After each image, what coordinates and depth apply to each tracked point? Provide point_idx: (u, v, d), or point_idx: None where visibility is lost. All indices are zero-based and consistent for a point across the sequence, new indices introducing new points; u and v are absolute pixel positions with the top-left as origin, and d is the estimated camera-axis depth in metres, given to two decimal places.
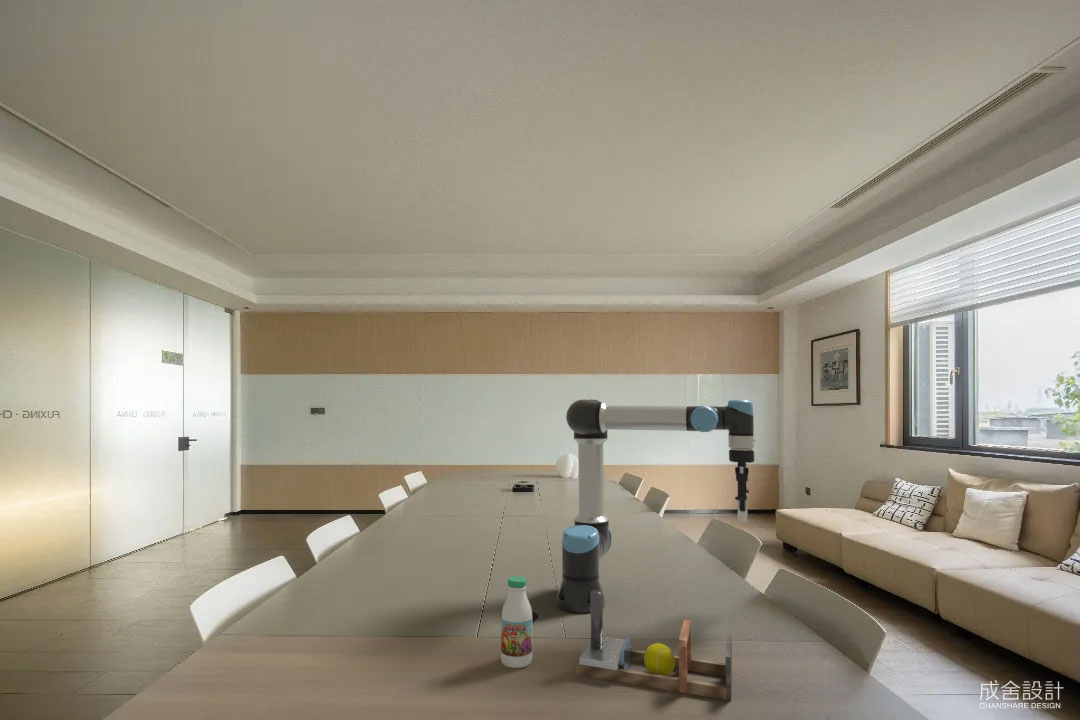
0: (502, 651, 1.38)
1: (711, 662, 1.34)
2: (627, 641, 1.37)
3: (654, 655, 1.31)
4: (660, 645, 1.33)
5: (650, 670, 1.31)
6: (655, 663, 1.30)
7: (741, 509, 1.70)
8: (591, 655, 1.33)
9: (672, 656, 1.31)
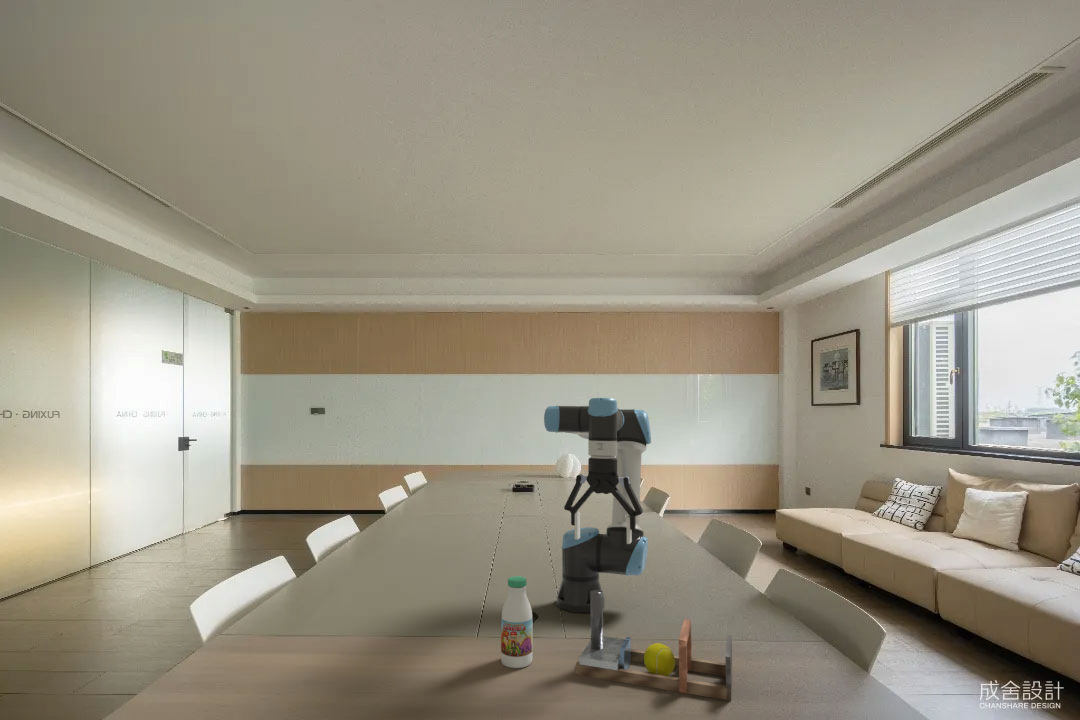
0: (502, 651, 1.38)
1: (711, 662, 1.34)
2: (627, 641, 1.37)
3: (653, 655, 1.31)
4: (660, 645, 1.33)
5: (650, 670, 1.31)
6: (655, 663, 1.30)
7: None
8: (591, 655, 1.33)
9: (672, 656, 1.31)
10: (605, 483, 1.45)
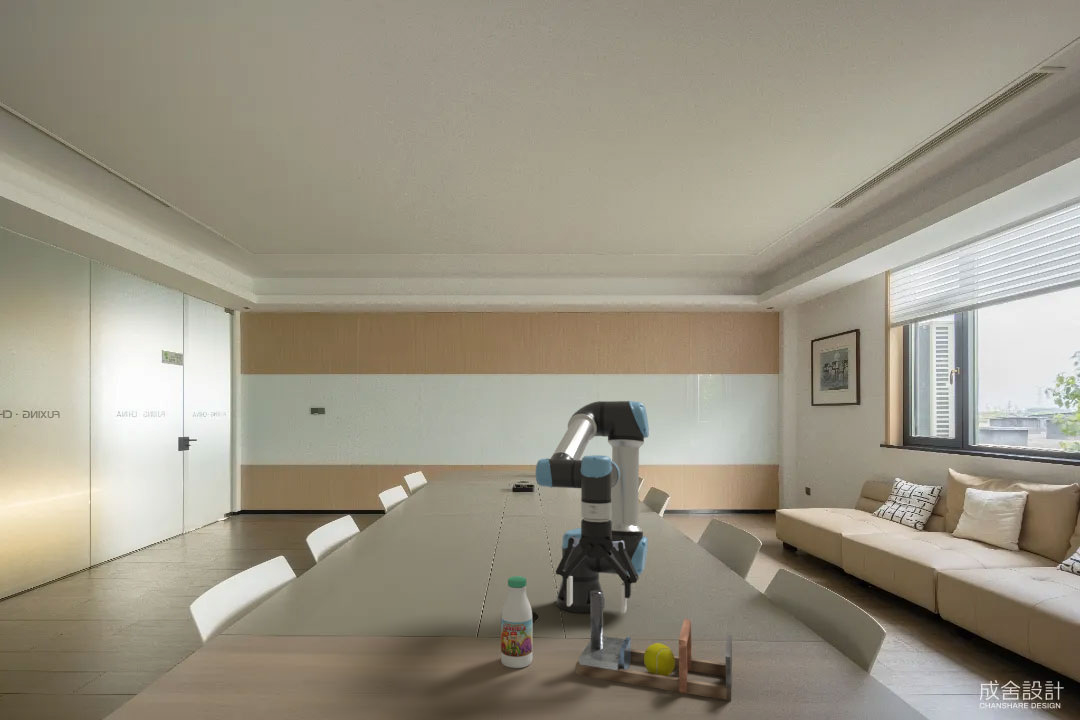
0: (502, 651, 1.38)
1: (711, 662, 1.34)
2: (627, 641, 1.37)
3: (654, 655, 1.31)
4: (660, 645, 1.33)
5: (650, 670, 1.31)
6: (655, 663, 1.30)
7: None
8: (591, 655, 1.33)
9: (672, 656, 1.31)
10: (599, 548, 1.38)
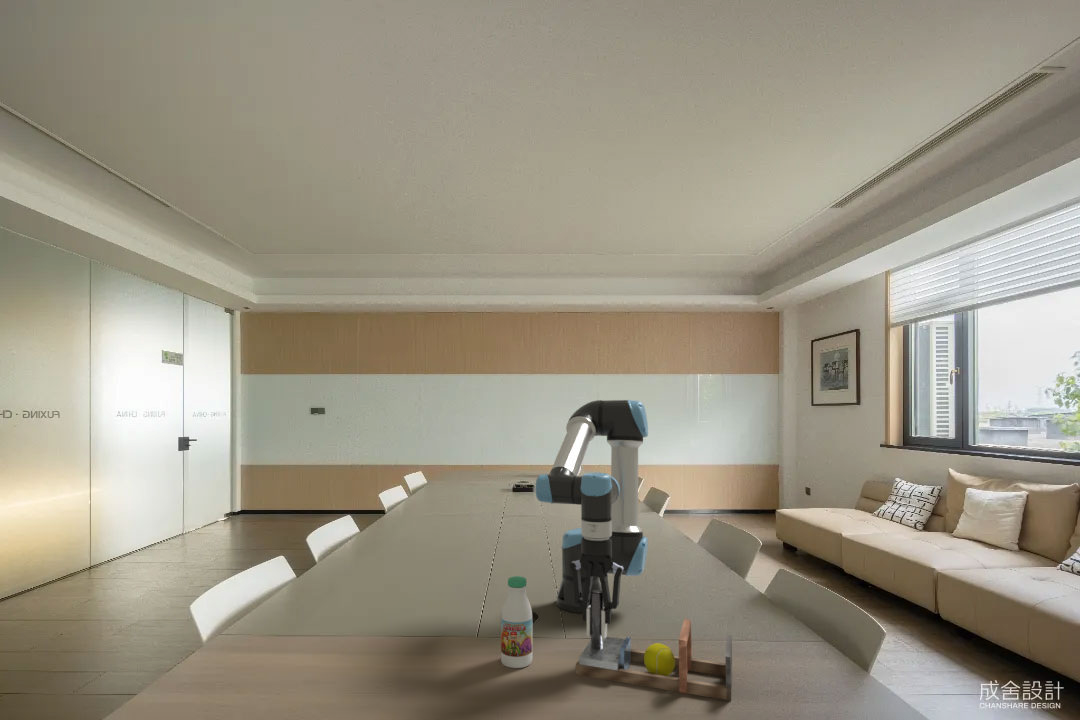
0: (502, 651, 1.38)
1: (711, 662, 1.34)
2: (627, 641, 1.37)
3: (654, 655, 1.31)
4: (660, 645, 1.33)
5: (650, 670, 1.31)
6: (655, 663, 1.30)
7: None
8: (591, 655, 1.33)
9: (672, 656, 1.31)
10: (599, 566, 1.37)
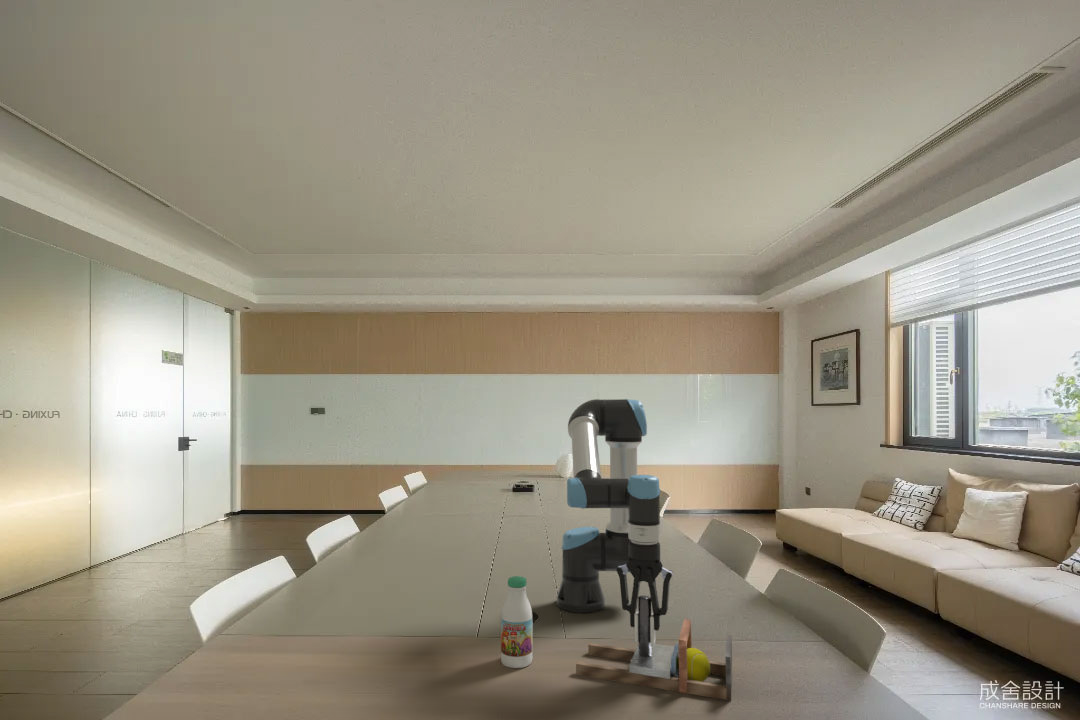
0: (502, 651, 1.38)
1: (711, 662, 1.34)
2: (676, 648, 1.33)
3: (688, 660, 1.28)
4: (694, 650, 1.30)
5: None
6: (690, 668, 1.27)
7: None
8: (641, 663, 1.29)
9: (707, 661, 1.29)
10: (647, 571, 1.33)
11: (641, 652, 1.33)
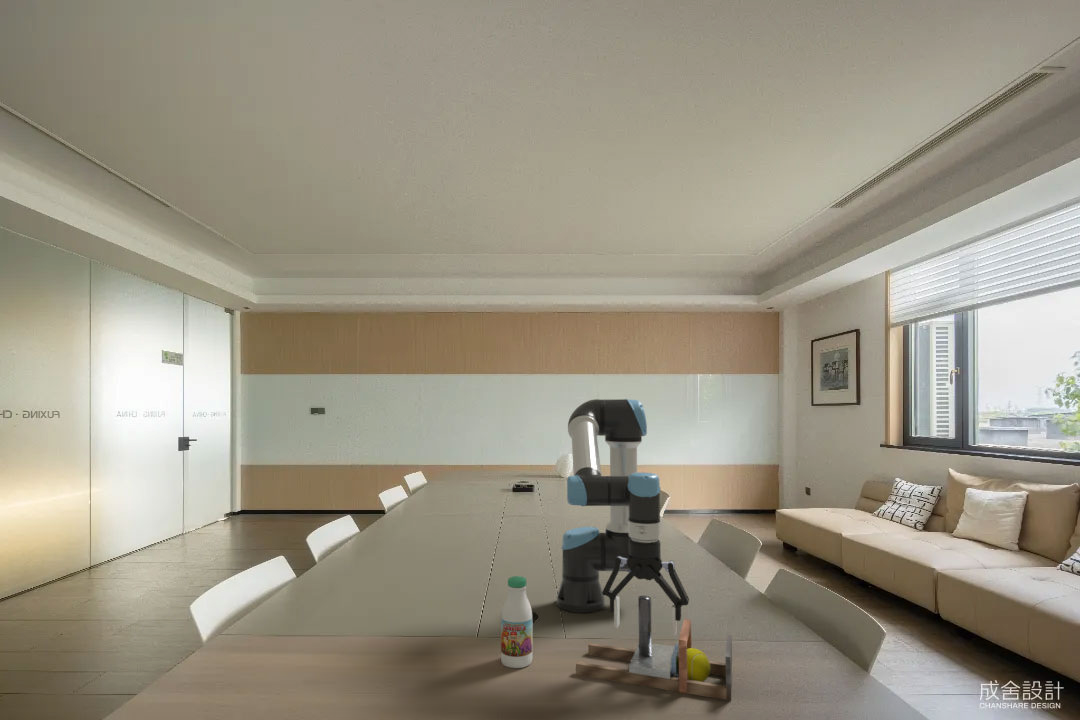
0: (502, 651, 1.38)
1: (711, 662, 1.34)
2: (676, 648, 1.33)
3: (689, 661, 1.28)
4: (695, 650, 1.30)
5: None
6: (690, 668, 1.27)
7: None
8: (641, 663, 1.29)
9: (707, 661, 1.29)
10: (648, 569, 1.33)
11: (641, 652, 1.33)
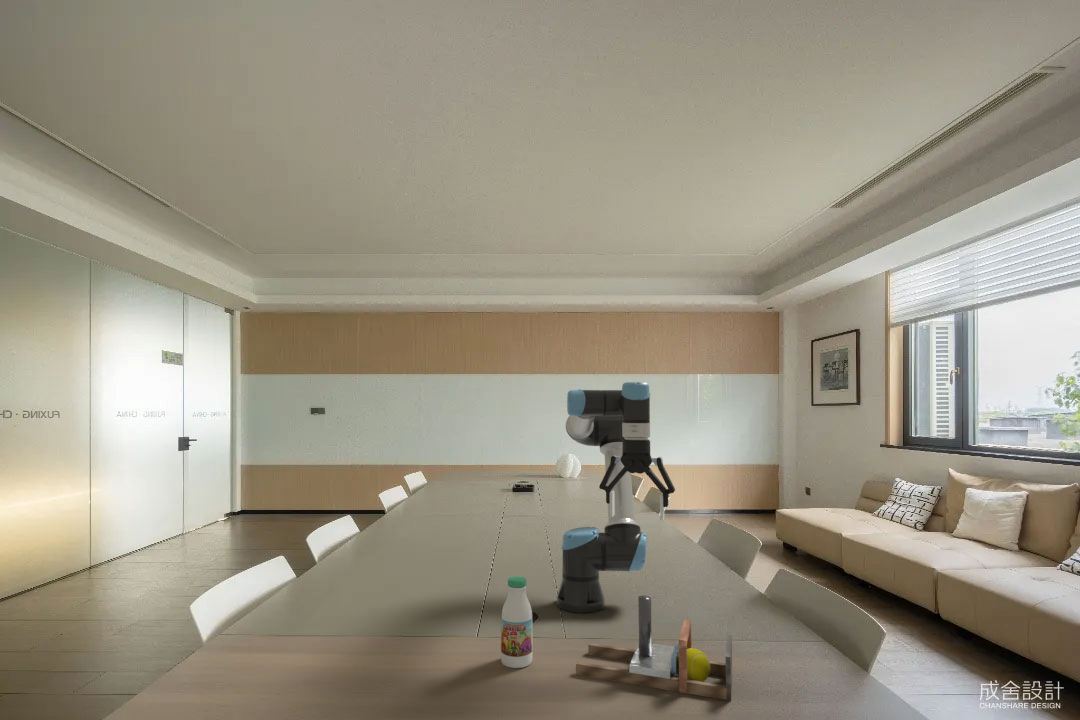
0: (502, 651, 1.38)
1: (711, 662, 1.34)
2: (676, 648, 1.33)
3: (689, 661, 1.28)
4: (695, 650, 1.30)
5: None
6: (690, 668, 1.27)
7: None
8: (641, 663, 1.29)
9: (707, 661, 1.29)
10: (639, 463, 1.53)
11: (641, 652, 1.33)
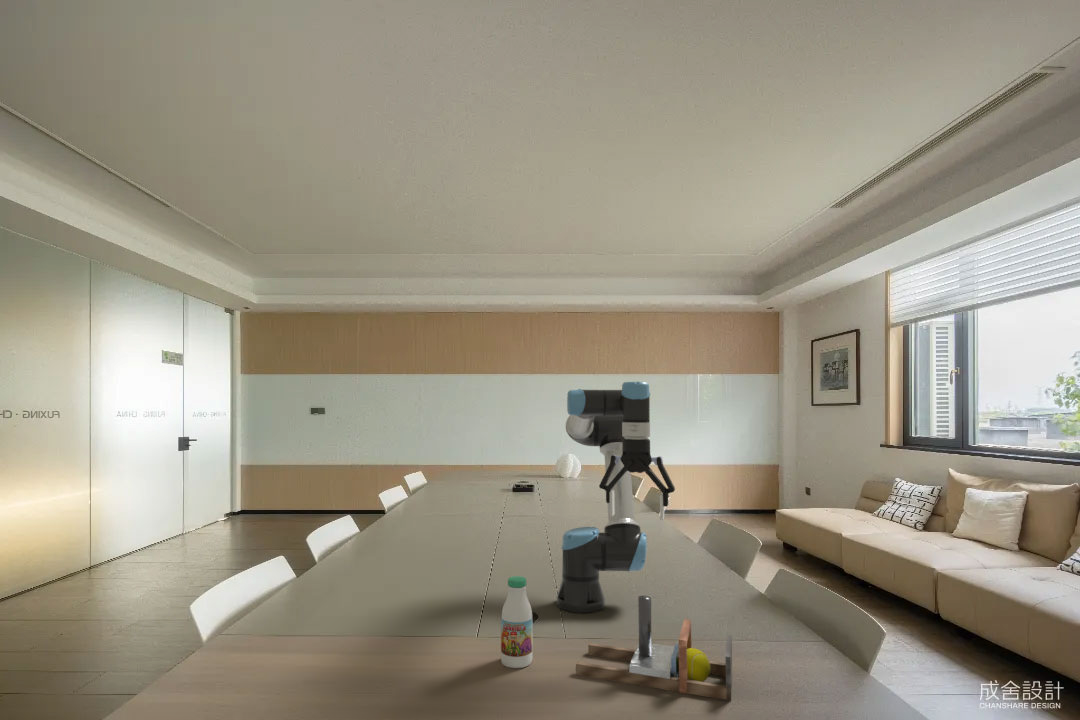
0: (502, 651, 1.38)
1: (711, 662, 1.34)
2: (676, 648, 1.33)
3: (689, 661, 1.28)
4: (695, 650, 1.30)
5: None
6: (690, 668, 1.27)
7: None
8: (641, 663, 1.29)
9: (707, 661, 1.29)
10: (639, 462, 1.53)
11: (641, 652, 1.33)
